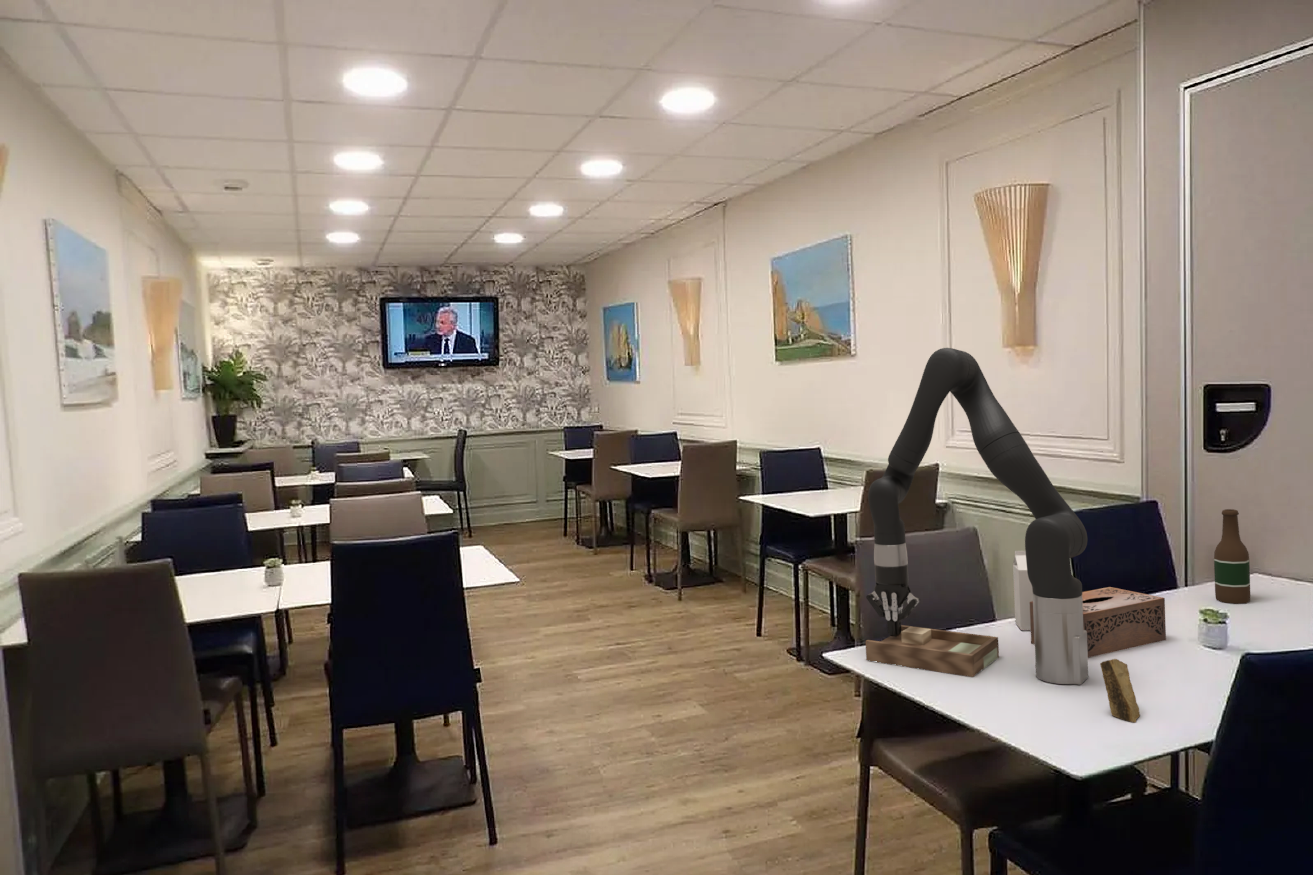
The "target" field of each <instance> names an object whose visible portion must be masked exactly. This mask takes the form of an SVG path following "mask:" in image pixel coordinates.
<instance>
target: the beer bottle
mask: <svg viewBox="0 0 1313 875" xmlns="http://www.w3.org/2000/svg"><path fill="white" fill-rule="evenodd" d="M1221 515H1222V528H1221V529H1222V530H1221V533H1222V534H1221V539H1220V541H1219V542H1218V544H1217V545H1216V547H1215V550H1214V554H1213V564H1214V566H1213V567H1214V568H1213V570H1214V595H1215V599H1216V601H1218V602H1221V603H1223V604H1230V605H1237V604H1238V605H1243V604H1247V603H1250V602H1251V569H1250V554H1249V551H1248V549H1247V547H1246V545H1245V544H1244V543H1243V542H1242V539H1241V535H1240V527H1239V518H1238V515H1239V510H1237V509H1233V508H1228V509H1222V511H1221Z"/></svg>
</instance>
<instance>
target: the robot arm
mask: <svg viewBox="0 0 1313 875" xmlns="http://www.w3.org/2000/svg"><path fill="white" fill-rule="evenodd" d="M921 375H922V376H921V380H920V382H919V385H918V388H917V391H916V393H915V397H914V399H913V403H912V404H911V405H912V406H911V408H910V411H909V413H908V415H907V418H906V421H905V423H904V425H903V427H902V429H901V431H900V432H899V434H898V436H897V439H896V441H895V443H894V445H893V446H892V448H891V450H890V453H889V454H888V458H887V463H888V464H887V467H886V469H885V471H884V473H883V474H882V477H881V478H877V479H875V480H874V481H873V482H872V483H871V484H870V486H869V488H868V492H867V494H868V495H867V498H868V505H869V506H868V507H869V511H870V515H871V519H872V523H873V538H874V539H873V540H874V546H873V549H874V550H873V562H874V580H875V586H874V590H873V591H871V593H869V594H866V596H865V597H866V600H867V601H868V603H869V604H870V606H872V608H873V610H874V611H875V612H876V614H877V615H878V616H879V617H880V618H884V619H885V620H886V627H887V628H886V629H887V633H888V634H889V637H890V636H893V637H897V636H899V634H900V633H901V625H902V620H904V619H907V618H908V617H909V616H910V615H911V613H912V612H913V611H915V608H916V607H917V606H918V605H919V603H920V602H921V598H920V597H918V596H917V597H916V596H914V594H913V593H912V590H911V588H910V586H909V578H910V577H909V563H908V562H909V561H908V560H909V558H908V549H907V544H906V529H905V528H906V527H905V521H904V520H903V519H902V518H901V516H900V507H899V504H901V503H902V502H903V501H904V500H905V498H906V497H907V495H908V493H909V491H910V489H911V488H910V487H911V486H912V482H913V480H914V477H915V473H916V472H917V469H918V468H919V466H920V465H921V463H922V461H923V460H924V458H925V456H926V454H927V451H928V449H929V447H930V444H931V442H932V438H933V434H934V429H935V423H936V419H937V416H938V413H939V411H940V408H941V406H942V404H943V402H944V401H945V399H946V398H947V396H948V395H949V394H950V393H951V394H952V396H953V397H954V398H955V400H957V402H958V404H959V405H960V407H961V408H962V409H963V412H964V413H965V415H966V417H967V419H968V423H969V427H970V432H971V436H972V440H973V443H974V446H975V448H976V450H977V451H978V452H977V453H978V454H979V455H980V457H981V459H982V461H983V462H984V463H985V465H986V467H987V468H988V470H989V471H990V473H991V475H992V476H994V477H995V478H996V479H997V480H998V481H999V482H1000V483H1001V484H1002V485H1003V486H1005V487H1006V488H1007V489H1009V491H1011V492H1012V493H1013V494H1015V495H1016V496H1017V497H1018V498H1019V499H1020V500H1021V501H1022V502H1023V503H1024V504H1025V505H1026V506H1027V507H1028V509H1029V511H1030V512H1031V514H1032V515H1033V517H1034V520H1033V521H1031V522H1030V523H1029V525H1028V527H1027V528H1026V532H1025V536H1024V537H1025V538H1024V551H1025V552H1026V563H1027V573H1028V578H1029V580H1030V582H1031V585H1032V590H1033V616H1034V641H1035V644H1034V658H1035V665H1034V667H1035V677H1036V678H1037V679H1039V680H1040V681H1044V682H1046V683H1051V684H1060V685H1079V686H1080V685H1082V684H1083V683H1084V682H1085V681H1086V680H1087V679H1088V678H1089V658H1088V650H1087V631H1086V630H1084V626H1083V600H1082V592H1083V584H1082V582H1081V580H1080V579H1078V578H1076V577H1074V575H1073V574H1072V566H1071V558H1075V557H1077V556H1079V555H1081V554H1082V553H1084V551H1085V550H1086V548H1087V546H1088V541H1089V540H1088V534H1087V530H1086V528H1085V526H1084V524H1083V522H1082V521H1081V519H1080V518H1079V516H1078V515H1077V514H1076V513H1075V512H1074V510H1073V509H1072V508H1071V507H1070V505H1069V503H1067V501H1065V499H1064V498H1063V496H1062V495H1061V494H1060V493H1059V492H1058V490H1057V489H1056V488H1055V486H1054V485H1053V483H1052V482H1051V481H1050V478H1049V477H1048V475H1047V474H1046V472H1045V471H1044V469H1043V467H1042V466H1041V465H1040V463H1039V461H1038V460H1037V459H1036V457H1035V455H1034V454H1033V452H1032V450H1031V449H1030V447H1029V445H1028V444H1027V441H1026V440H1025V438H1024V437H1023V435H1022V434H1021V433H1020V431H1019V430H1018V429H1017V427H1016V426H1015V424H1014V423H1013V421H1012V420H1011V418H1010V416H1009V415H1008V412H1006V410H1005V409H1004V408H1003V406H1002V405H1001V403H1000V402H999V401H998V400H997V398H996V397H995V395H994V393H993V391H992V389H991V388H990V385H989V383H988V381H987V379H986V377H985V375H984V372H983V371H982V369H981V366H980V365H979V363H978V362H977V360H976V359H975V357H974V356H973V355H971V354H970V353H968V352H966V351H964V350H959V349H957V348H952V347H943V348H940V349H937V350H935V351H934V352H933V353H932V354H931V355H930V356H929V358H928V359H927V362H926V364H925V367H924V370H923V373H922V374H921ZM905 602H906V603H907V605H906V607H905V608H904V603H905ZM903 608H904V609H903Z"/></svg>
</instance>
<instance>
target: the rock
mask: <svg viewBox="0 0 1313 875" xmlns="http://www.w3.org/2000/svg"><path fill="white" fill-rule="evenodd" d="M1099 663H1100V664H1099V665H1100V669H1101V674H1102V678H1103V682H1104V686H1105V690H1106V693H1107V700H1108V705H1109V709H1110V713H1111V715H1112V717H1115V718H1117V719H1120V720H1123V721H1125V722H1130V723H1134V724H1135V723H1137V719H1138V718H1139V717H1140V716H1141V714H1140V707H1139V705H1138V703H1137V697H1136V694H1135V691H1134V688H1133V685H1132V682H1131V680H1130V678H1131V677H1130V672H1129V669H1128V664H1127V663H1126V662H1125V663H1124V662H1123V661H1121V660H1119V659H1117V658H1112V659H1108V660H1105V661H1102V662H1099Z"/></svg>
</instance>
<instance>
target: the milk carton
mask: <svg viewBox="0 0 1313 875" xmlns="http://www.w3.org/2000/svg"><path fill="white" fill-rule="evenodd" d="M1012 570H1013V571H1012V572H1013V573H1012V574H1013V575H1012V576H1013V595H1014V596H1013V597H1014V598H1013V599H1014V619H1016V620H1014V622H1016V623H1015V624H1016V625H1017V627H1018V628H1019V629H1020V630H1021V631H1031V626H1030V602H1032V601H1033V590H1032V585H1031V582H1030V580H1029V578H1028V573H1027V563H1026V552H1025V550H1014V557H1013V563H1012Z"/></svg>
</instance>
